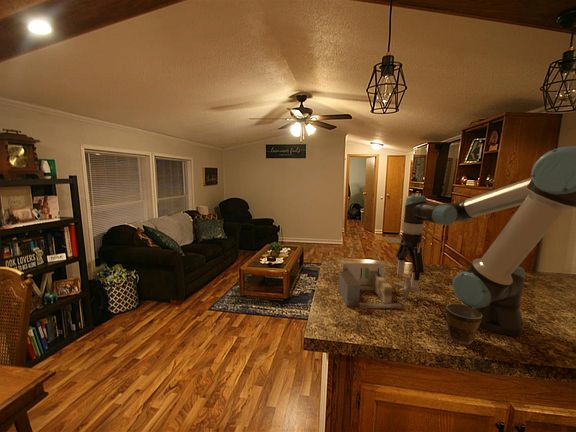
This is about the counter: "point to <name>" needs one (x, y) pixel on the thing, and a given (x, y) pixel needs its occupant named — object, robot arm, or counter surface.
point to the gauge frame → (361, 283)
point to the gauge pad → (383, 289)
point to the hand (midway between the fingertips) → (406, 280)
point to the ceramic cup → (462, 322)
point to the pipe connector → (407, 287)
